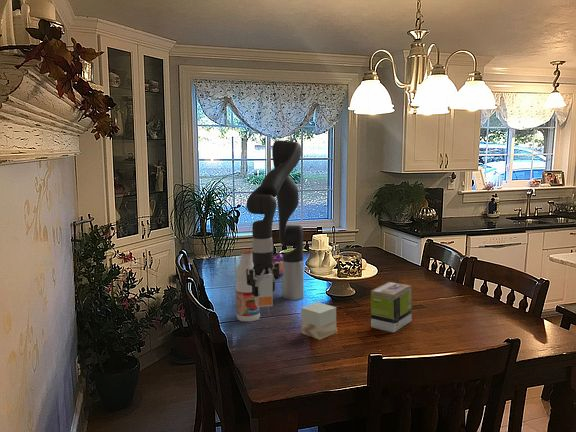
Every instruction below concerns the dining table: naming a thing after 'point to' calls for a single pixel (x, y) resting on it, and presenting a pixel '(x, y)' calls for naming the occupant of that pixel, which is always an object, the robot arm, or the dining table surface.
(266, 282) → the skincare box
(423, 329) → the dining table surface
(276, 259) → the cell model
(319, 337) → the lower block
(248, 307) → the fruit juice
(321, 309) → the upper block
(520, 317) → the dining table surface
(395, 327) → the tea box
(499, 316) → the dining table surface
